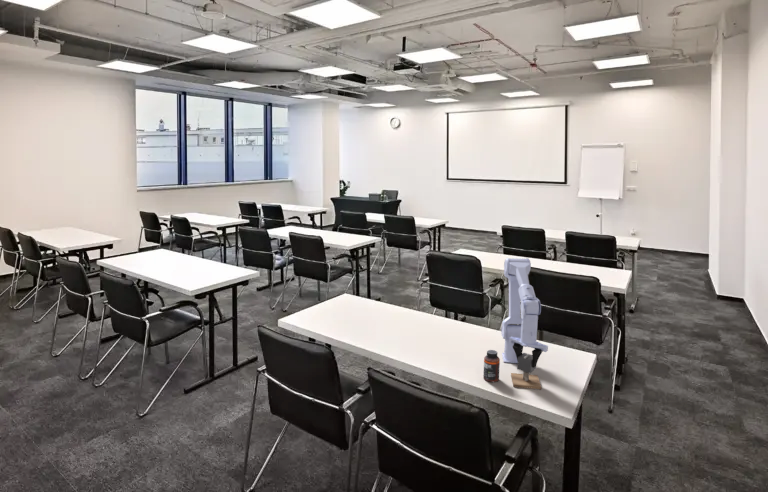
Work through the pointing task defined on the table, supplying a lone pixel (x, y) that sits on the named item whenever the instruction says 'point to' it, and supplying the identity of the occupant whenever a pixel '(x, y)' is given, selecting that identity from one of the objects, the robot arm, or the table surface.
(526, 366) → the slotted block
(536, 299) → the robot arm
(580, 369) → the table surface
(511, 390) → the table surface
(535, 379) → the block
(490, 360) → the supplement bottle
